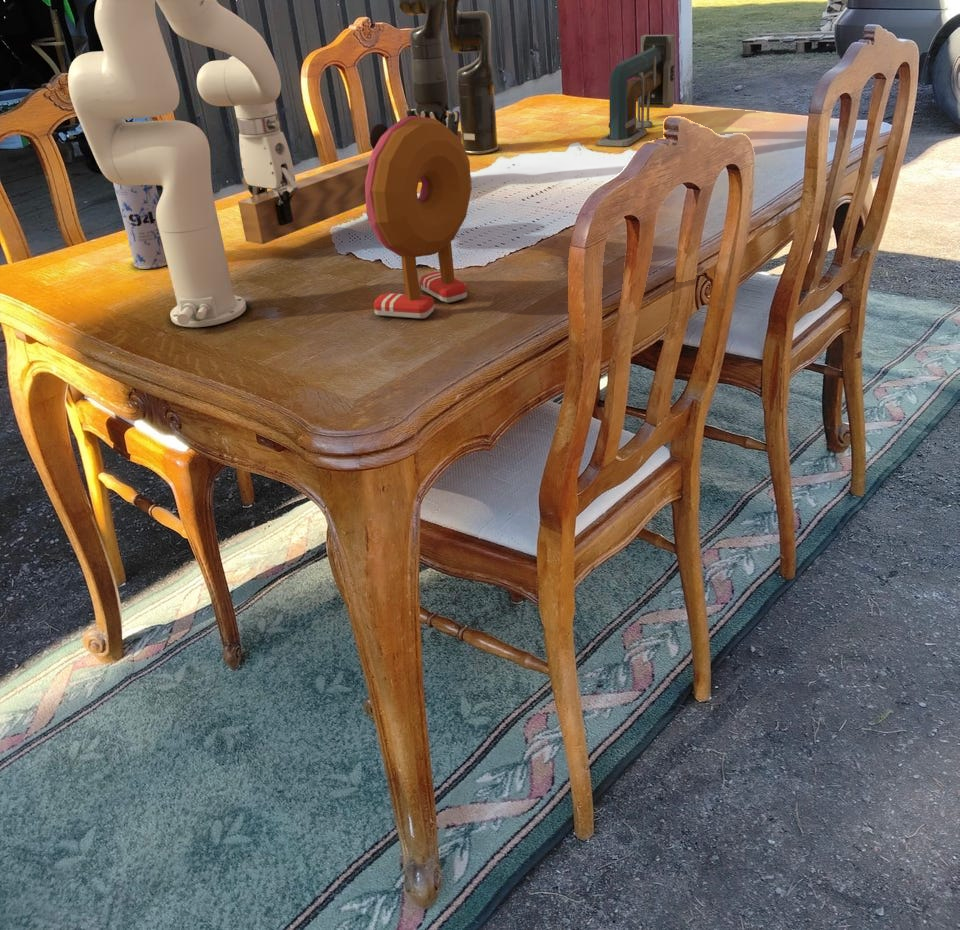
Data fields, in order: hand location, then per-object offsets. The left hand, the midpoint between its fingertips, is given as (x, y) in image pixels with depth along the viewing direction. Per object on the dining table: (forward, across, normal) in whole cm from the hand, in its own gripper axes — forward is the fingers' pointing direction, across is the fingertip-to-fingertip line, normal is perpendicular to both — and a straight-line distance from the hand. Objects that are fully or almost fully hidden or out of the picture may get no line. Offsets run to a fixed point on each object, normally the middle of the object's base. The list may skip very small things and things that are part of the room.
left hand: (276, 220), depth 189 cm
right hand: (-1, 0, -50) cm, 50 cm away
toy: (+6, -46, +10) cm, 47 cm away
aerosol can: (+6, +19, +17) cm, 26 cm away
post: (+2, 0, -25) cm, 25 cm away
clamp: (+6, -16, -115) cm, 116 cm away
